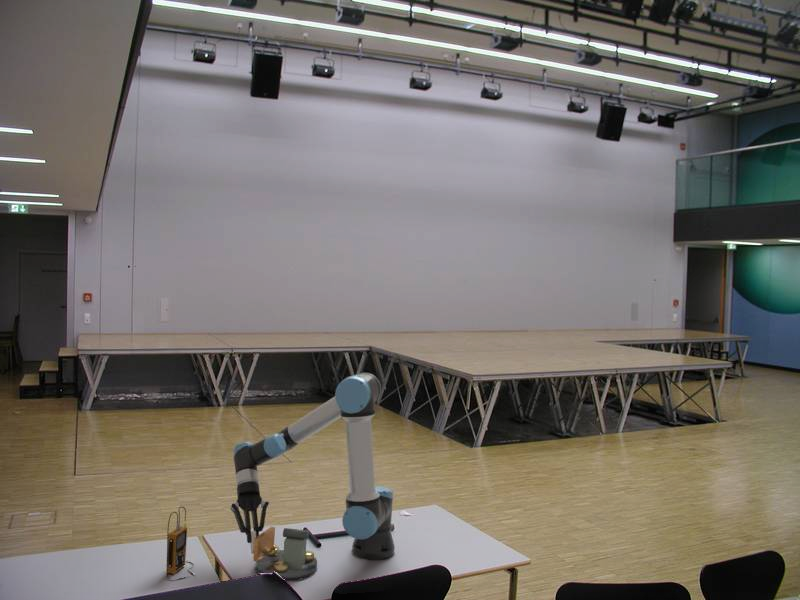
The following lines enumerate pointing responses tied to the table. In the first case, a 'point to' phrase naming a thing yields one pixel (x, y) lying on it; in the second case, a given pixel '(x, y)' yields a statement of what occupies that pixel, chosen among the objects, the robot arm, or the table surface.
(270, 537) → the lever
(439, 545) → the table surface
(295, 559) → the wedge with rod handle
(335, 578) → the table surface
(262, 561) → the tribrach plate
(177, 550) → the multimeter
